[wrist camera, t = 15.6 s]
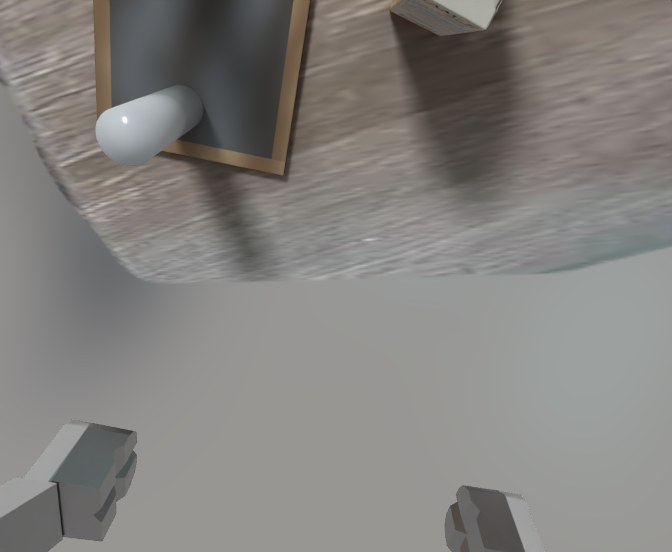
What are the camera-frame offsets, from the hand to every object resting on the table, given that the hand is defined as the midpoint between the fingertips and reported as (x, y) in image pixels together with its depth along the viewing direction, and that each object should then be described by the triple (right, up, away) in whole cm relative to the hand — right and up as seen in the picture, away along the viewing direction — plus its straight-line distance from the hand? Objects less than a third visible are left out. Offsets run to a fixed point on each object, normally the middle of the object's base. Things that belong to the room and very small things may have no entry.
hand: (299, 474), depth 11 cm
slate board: (-10, +23, +24) cm, 35 cm away
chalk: (-12, +19, +26) cm, 34 cm away
